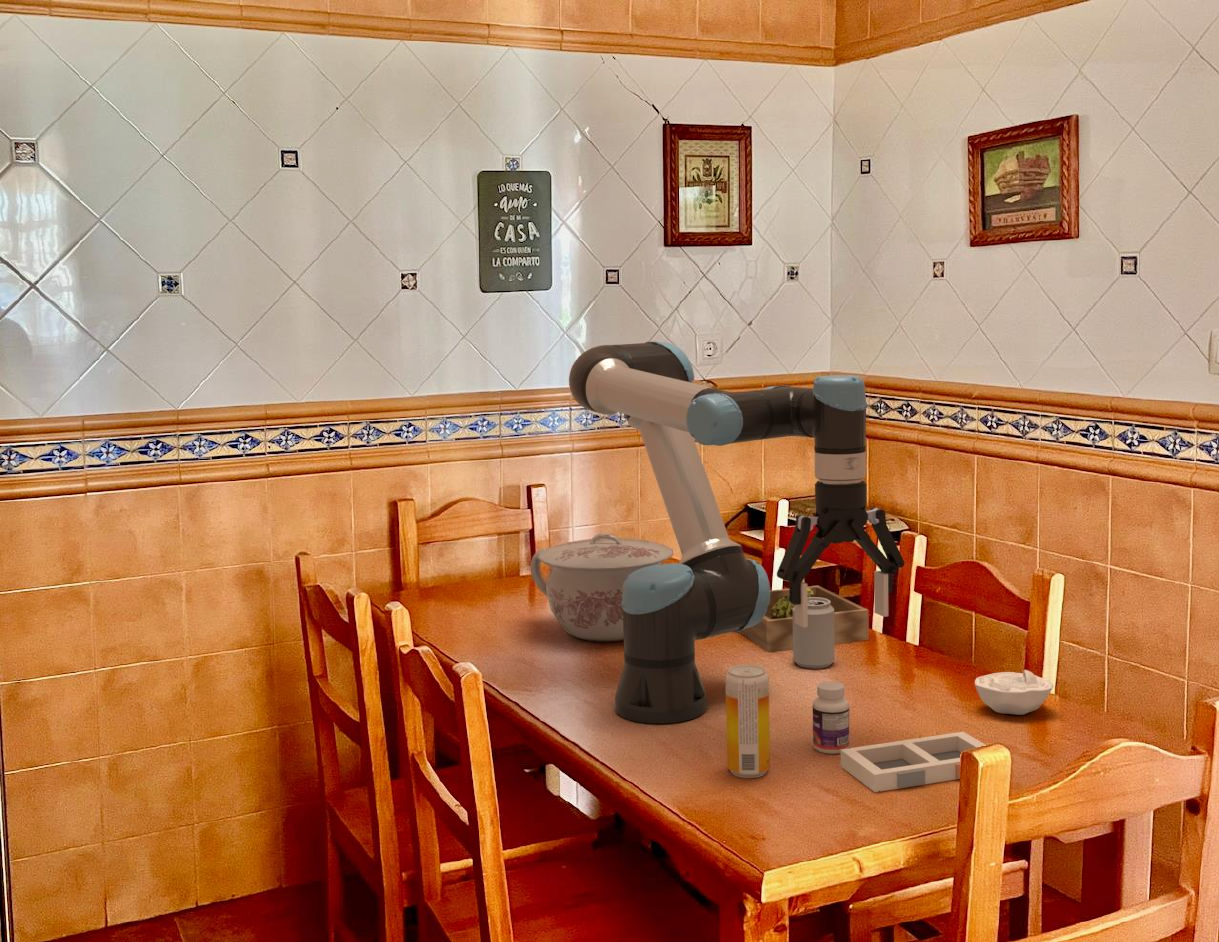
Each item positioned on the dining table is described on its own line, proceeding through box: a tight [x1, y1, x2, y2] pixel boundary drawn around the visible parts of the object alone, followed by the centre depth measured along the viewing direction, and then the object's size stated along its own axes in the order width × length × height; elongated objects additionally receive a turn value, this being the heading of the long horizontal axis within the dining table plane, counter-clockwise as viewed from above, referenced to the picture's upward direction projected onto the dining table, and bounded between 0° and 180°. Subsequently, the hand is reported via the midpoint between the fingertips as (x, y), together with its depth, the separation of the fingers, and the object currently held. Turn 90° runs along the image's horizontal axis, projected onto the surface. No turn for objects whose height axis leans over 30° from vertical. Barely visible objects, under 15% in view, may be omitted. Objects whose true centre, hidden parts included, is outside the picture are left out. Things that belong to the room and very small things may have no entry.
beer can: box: [724, 664, 771, 779], centre depth 176 cm, size 6×6×15 cm
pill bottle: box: [812, 680, 850, 755], centre depth 184 cm, size 5×5×10 cm
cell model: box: [974, 669, 1055, 716], centre depth 197 cm, size 10×12×7 cm
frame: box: [738, 585, 870, 653], centre depth 247 cm, size 21×22×6 cm
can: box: [792, 597, 836, 670], centre depth 225 cm, size 8×8×12 cm
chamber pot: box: [529, 532, 674, 643], centre depth 250 cm, size 28×28×21 cm
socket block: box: [840, 731, 987, 793], centre depth 175 cm, size 20×10×2 cm, turn 107°
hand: (841, 620), depth 186 cm, fingers open, 13 cm apart
